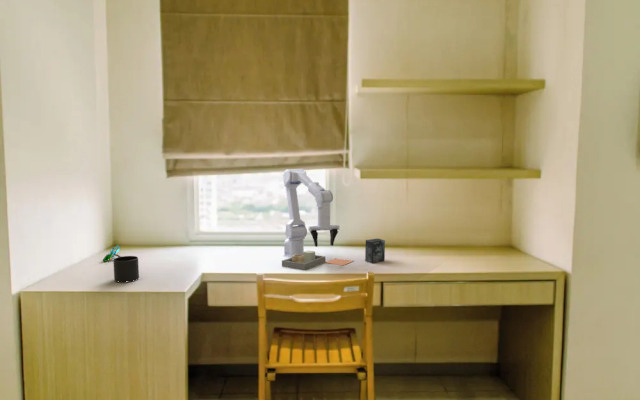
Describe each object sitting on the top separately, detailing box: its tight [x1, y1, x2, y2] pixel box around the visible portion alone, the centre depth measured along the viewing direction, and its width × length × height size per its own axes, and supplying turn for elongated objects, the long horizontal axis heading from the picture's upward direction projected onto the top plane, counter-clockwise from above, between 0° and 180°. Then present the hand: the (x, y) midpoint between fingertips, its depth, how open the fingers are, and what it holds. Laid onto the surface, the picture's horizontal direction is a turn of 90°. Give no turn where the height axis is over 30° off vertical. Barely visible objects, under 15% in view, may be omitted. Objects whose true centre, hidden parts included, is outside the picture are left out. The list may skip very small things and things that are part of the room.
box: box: [364, 238, 386, 264], centre depth 220 cm, size 8×6×11 cm
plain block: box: [304, 250, 316, 263], centre depth 218 cm, size 4×4×5 cm
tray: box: [281, 253, 326, 271], centre depth 214 cm, size 13×18×3 cm
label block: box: [292, 254, 305, 264], centre depth 210 cm, size 4×4×5 cm
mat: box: [324, 257, 354, 267], centre depth 218 cm, size 10×10×1 cm
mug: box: [112, 255, 140, 283], centre depth 191 cm, size 9×12×9 cm
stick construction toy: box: [102, 245, 122, 262], centre depth 224 cm, size 12×7×8 cm
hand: (323, 245), depth 213 cm, fingers open, 7 cm apart
